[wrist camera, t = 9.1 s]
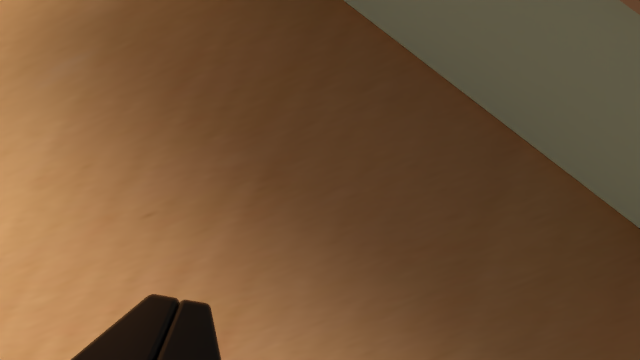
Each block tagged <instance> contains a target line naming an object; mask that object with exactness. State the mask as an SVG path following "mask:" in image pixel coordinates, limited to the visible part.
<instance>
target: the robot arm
mask: <svg viewBox="0 0 640 360" xmlns="http://www.w3.org/2000/svg"><path fill="white" fill-rule="evenodd" d="M71 360H221V357H220V352H219V347H218V342H217V337H216V332H215V327H214V322H213V317H212V312H211V308H210V306H209V305H208V304H206V303H201V302H196V301H190V300H183V301H181V302H180V303H179V300H178V299H177V298H173V297H167V296H162V295H156V294H152V295H149V296H147V297H146V298H145V299H144V300H142V301H141V302H140V303H139V304H138V305H136V306H135V307H134V308H133V309H132V310H130V311H129V312H128V313H127V314H126V315H124V316H123V317H122V318H121V319H119V320H118V321H117V322H116V323H115V324H113V325H112V326H111V327H110V328H109V329H107V330H106V331H105V332H104V333H103V334H101V335H100V336H99V337H98V338H96V339H95V340H94V341H93V342H92V343H90V344H89V345H88V346H87V347H86V348H84V349H83V350H82V351H81V352H80V353H78V354H77V355H76V356H75V357H73V358H72V359H71Z"/></svg>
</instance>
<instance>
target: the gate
mask: <svg viewBox="0 0 640 360" xmlns="http://www.w3.org/2000/svg"><path fill="white" fill-rule="evenodd" d="M344 1H345V2H346V3H348V4H349V5H350V6H351V7H353V8H354V9H355V10H357V11H358V12H359V13H361V14H362V15H363V16H364V17H366V18H367V19H368V20H370V21H371V22H372V23H374V24H375V25H376V26H377V27H379V28H380V29H381V30H383V31H384V32H385V33H387V34H388V35H389V36H390V37H392V38H393V39H394V40H396V41H397V42H398V43H400V44H401V45H402V46H403V47H405V48H406V49H407V50H409V51H410V52H411V53H413V54H414V55H415V56H416V57H418V58H419V59H420V60H422V61H423V62H424V63H426V64H427V65H428V66H429V67H431V68H432V69H433V70H435V71H436V72H437V73H438V74H440V75H441V76H442V77H444V78H445V79H446V80H448V81H449V82H450V83H451V84H453V85H454V86H455V87H457V88H458V89H459V90H461V91H462V92H463V93H464V94H466V95H467V96H468V97H470V98H471V99H472V100H474V101H475V102H476V103H477V104H479V105H480V106H481V107H483V108H484V109H485V110H487V111H488V112H489V113H490V114H492V115H493V116H494V117H496V118H497V119H498V120H500V121H501V122H502V123H503V124H505V125H506V126H507V127H509V128H510V129H511V130H513V131H514V132H515V133H516V134H518V135H519V136H520V137H522V138H523V139H524V140H526V141H527V142H528V143H529V144H531V145H532V146H533V147H535V148H536V149H537V150H538V151H540V152H541V153H542V154H544V155H545V156H546V157H548V158H549V159H550V160H551V161H553V162H554V163H555V164H557V165H558V166H559V167H561V168H562V169H563V170H564V171H566V172H567V173H568V174H570V175H571V176H572V177H574V178H575V179H576V180H577V181H579V182H580V183H581V184H583V185H584V186H585V187H587V188H588V189H589V190H590V191H592V192H593V193H594V194H596V195H597V196H598V197H600V198H601V199H602V200H603V201H605V202H606V203H607V204H609V205H610V206H611V207H613V208H614V209H615V210H616V211H618V212H619V213H620V214H622V215H623V216H624V217H625V218H627V219H628V220H629V221H631V222H632V223H633V224H635V225H636V226H637V227H638V228H640V0H344Z"/></svg>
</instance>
